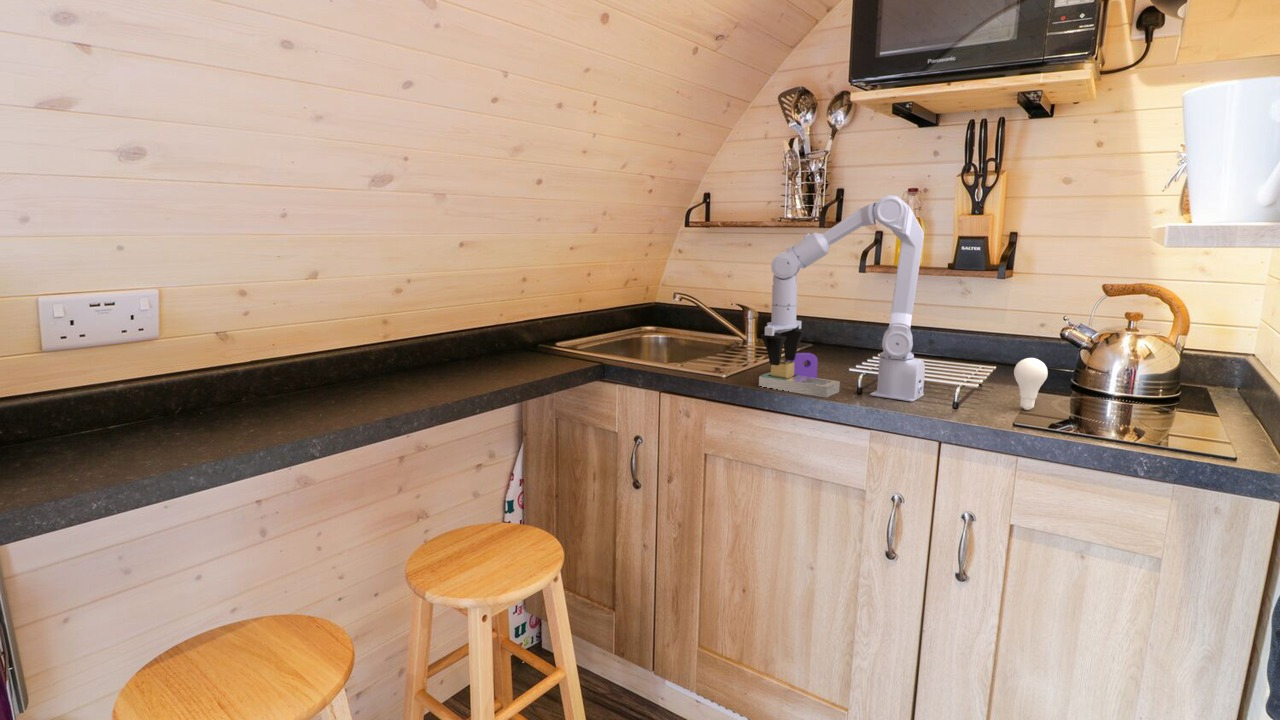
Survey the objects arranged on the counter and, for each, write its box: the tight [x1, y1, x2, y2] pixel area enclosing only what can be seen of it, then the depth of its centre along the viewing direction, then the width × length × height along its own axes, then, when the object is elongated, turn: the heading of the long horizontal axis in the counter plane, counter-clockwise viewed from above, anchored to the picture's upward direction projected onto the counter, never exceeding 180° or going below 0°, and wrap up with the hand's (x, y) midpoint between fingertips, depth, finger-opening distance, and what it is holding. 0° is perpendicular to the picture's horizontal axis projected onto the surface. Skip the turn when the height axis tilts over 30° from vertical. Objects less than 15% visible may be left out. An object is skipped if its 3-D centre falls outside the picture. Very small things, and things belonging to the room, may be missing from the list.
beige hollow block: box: [770, 359, 795, 379], centre depth 168 cm, size 4×4×6 cm
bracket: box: [787, 352, 818, 378], centre depth 181 cm, size 12×7×7 cm, turn 12°
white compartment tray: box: [758, 371, 841, 399], centre depth 166 cm, size 17×7×3 cm, turn 51°
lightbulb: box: [1013, 357, 1049, 411], centre depth 147 cm, size 6×6×11 cm
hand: (782, 362), depth 168 cm, fingers open, 7 cm apart
